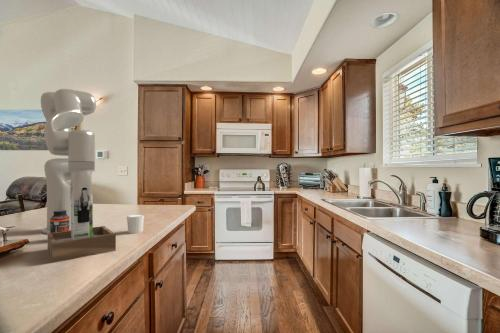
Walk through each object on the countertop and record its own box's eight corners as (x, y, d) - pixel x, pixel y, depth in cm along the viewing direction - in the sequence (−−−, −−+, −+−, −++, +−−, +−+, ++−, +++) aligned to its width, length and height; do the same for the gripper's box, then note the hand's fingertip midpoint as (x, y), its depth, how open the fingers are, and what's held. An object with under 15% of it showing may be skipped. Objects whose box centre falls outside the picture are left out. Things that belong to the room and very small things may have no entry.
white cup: (123, 233, 111) (123, 216, 111) (135, 229, 117) (135, 213, 117) (135, 234, 109) (135, 217, 109) (147, 230, 115) (147, 214, 115)
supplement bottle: (59, 242, 97) (59, 211, 97) (45, 241, 98) (45, 211, 98) (73, 238, 103) (73, 209, 103) (60, 237, 104) (60, 208, 104)
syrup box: (72, 240, 84) (72, 195, 84) (70, 236, 89) (70, 193, 89) (92, 237, 87) (93, 193, 88) (90, 233, 92) (90, 192, 92)
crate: (47, 249, 88) (47, 233, 88) (103, 240, 100) (104, 225, 100) (52, 262, 76) (52, 243, 76) (115, 250, 88) (115, 234, 88)
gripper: (64, 167, 92) (64, 218, 92) (72, 167, 79) (72, 226, 79) (89, 167, 97) (89, 216, 97) (100, 167, 84) (100, 223, 84)
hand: (81, 220), depth 88 cm, fingers closed on syrup box, 6 cm apart
